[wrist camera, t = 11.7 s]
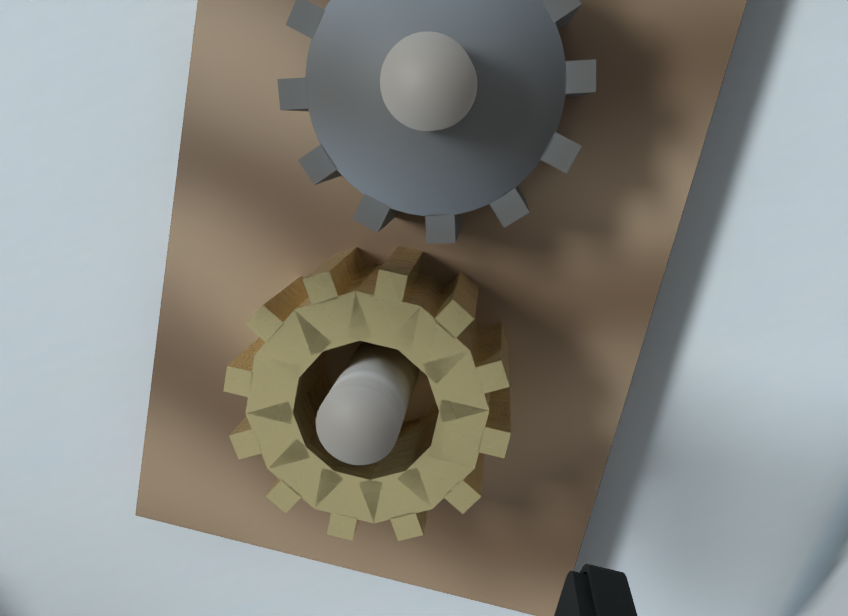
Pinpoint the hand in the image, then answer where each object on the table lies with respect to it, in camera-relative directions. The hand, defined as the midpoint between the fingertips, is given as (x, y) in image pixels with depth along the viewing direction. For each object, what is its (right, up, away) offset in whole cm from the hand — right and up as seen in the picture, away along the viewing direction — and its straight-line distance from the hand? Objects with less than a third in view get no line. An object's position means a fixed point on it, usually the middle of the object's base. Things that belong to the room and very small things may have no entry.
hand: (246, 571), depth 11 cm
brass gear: (+1, +2, +11) cm, 11 cm away
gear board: (+2, +6, +11) cm, 13 cm away
